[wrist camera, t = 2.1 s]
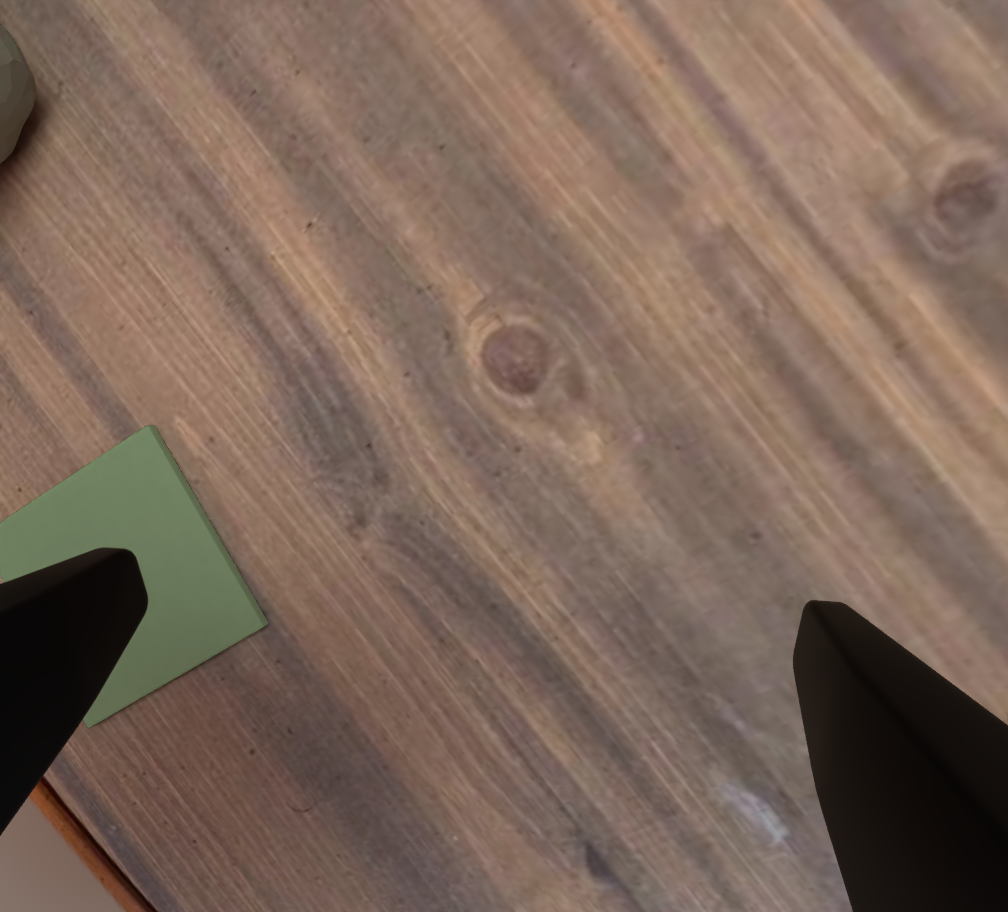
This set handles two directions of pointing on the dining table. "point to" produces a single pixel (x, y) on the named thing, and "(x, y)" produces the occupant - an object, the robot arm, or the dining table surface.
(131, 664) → the coaster
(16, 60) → the ceramic sculpture
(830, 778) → the robot arm
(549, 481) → the dining table surface
